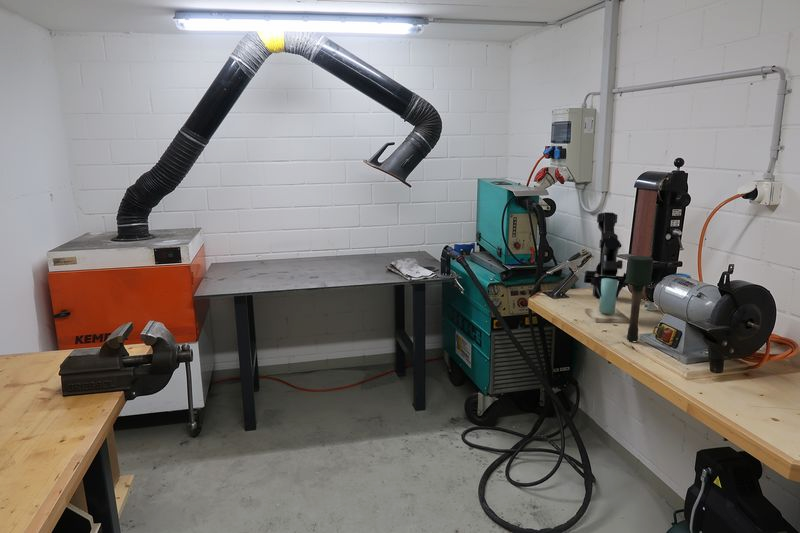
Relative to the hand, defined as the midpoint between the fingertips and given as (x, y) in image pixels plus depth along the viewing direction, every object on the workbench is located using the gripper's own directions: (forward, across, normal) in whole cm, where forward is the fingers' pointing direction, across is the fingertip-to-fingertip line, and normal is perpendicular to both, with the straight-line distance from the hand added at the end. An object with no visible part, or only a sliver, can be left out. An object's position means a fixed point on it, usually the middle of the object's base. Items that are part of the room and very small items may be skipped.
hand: (608, 296), depth 211 cm
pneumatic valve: (-6, +19, +19) cm, 27 cm away
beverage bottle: (+8, +24, +5) cm, 26 cm away
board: (+5, 0, +7) cm, 9 cm away
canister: (+4, 0, +6) cm, 7 cm away
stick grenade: (+24, +7, -11) cm, 27 cm away
